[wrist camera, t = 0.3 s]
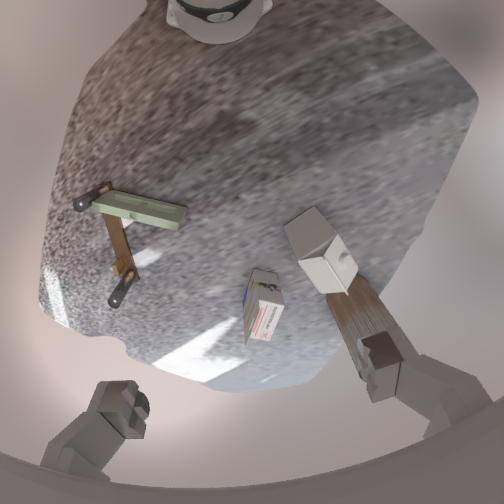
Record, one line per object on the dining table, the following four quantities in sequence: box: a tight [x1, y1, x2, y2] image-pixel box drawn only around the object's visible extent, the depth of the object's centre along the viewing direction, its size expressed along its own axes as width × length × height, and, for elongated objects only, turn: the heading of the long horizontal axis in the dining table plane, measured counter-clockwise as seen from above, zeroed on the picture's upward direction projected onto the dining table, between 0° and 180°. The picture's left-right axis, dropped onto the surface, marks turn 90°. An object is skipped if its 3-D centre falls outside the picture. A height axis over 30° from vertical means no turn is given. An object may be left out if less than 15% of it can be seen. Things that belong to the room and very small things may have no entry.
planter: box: [327, 274, 398, 382], centre depth 53 cm, size 10×10×23 cm
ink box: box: [243, 269, 285, 347], centre depth 55 cm, size 8×5×15 cm, turn 164°
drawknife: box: [73, 181, 140, 309], centre depth 50 cm, size 21×3×11 cm, turn 9°
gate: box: [92, 190, 187, 231], centre depth 48 cm, size 15×1×8 cm, turn 74°
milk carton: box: [283, 206, 358, 295], centre depth 48 cm, size 7×7×19 cm
